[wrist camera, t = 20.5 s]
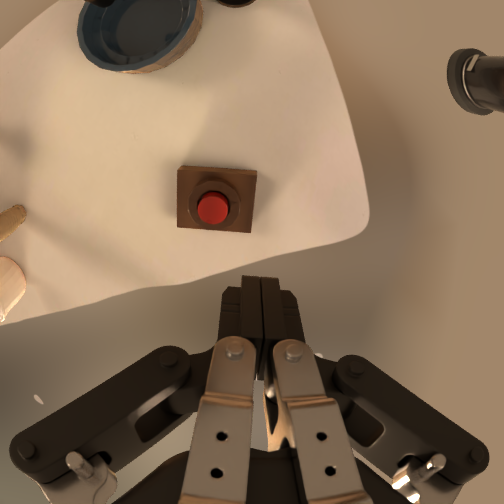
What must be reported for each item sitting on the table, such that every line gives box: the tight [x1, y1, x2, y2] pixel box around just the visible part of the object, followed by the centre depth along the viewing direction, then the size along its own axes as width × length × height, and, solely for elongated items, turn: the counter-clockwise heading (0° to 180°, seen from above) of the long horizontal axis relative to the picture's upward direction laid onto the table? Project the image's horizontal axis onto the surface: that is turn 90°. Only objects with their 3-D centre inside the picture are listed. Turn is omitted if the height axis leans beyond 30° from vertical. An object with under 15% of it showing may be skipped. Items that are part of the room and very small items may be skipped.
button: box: [198, 192, 228, 224], centre depth 37 cm, size 4×4×2 cm
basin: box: [77, 0, 203, 74], centre depth 26 cm, size 15×15×6 cm
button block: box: [177, 166, 257, 233], centre depth 39 cm, size 10×8×4 cm
